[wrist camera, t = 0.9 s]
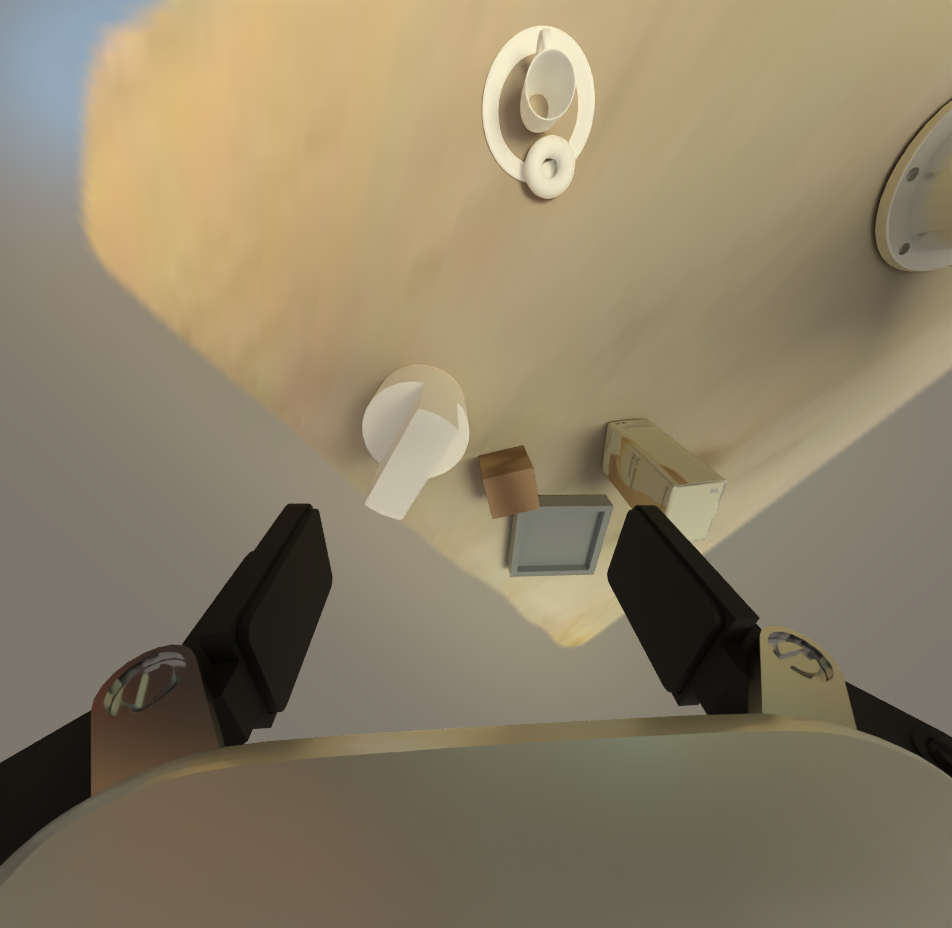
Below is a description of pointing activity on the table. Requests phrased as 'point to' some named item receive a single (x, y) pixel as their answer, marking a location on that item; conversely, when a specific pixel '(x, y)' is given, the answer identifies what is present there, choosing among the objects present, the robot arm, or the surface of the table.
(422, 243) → the table surface
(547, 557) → the slate tray
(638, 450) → the skincare box
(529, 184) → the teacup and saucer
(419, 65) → the table surface
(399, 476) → the base with upright slab
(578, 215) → the table surface
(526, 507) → the walnut block
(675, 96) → the table surface
